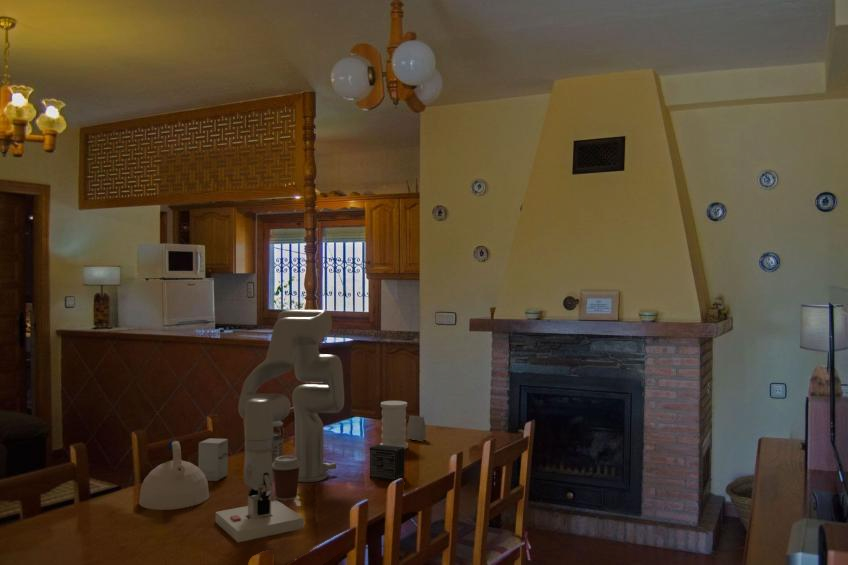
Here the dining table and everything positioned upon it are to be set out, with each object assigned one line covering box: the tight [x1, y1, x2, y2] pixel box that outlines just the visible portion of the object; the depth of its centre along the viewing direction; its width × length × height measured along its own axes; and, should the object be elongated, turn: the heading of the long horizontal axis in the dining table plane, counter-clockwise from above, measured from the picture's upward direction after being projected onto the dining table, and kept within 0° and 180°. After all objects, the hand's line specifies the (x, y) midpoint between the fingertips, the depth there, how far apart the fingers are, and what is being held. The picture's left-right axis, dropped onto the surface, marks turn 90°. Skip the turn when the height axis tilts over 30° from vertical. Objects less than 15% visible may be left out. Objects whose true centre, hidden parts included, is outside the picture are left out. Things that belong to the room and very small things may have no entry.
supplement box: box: [197, 437, 229, 482], centre depth 231 cm, size 7×7×13 cm
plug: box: [247, 495, 272, 519], centre depth 185 cm, size 5×5×8 cm
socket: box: [215, 500, 305, 543], centre depth 185 cm, size 18×18×3 cm
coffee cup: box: [272, 455, 301, 502], centre depth 210 cm, size 9×9×12 cm
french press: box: [271, 420, 285, 463], centre depth 255 cm, size 10×12×25 cm
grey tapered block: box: [406, 415, 427, 442], centre depth 289 cm, size 4×7×10 cm, turn 62°
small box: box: [369, 444, 405, 482], centre depth 232 cm, size 11×6×10 cm, turn 65°
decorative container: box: [379, 400, 409, 450], centre depth 276 cm, size 12×12×18 cm
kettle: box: [138, 439, 210, 511], centre depth 208 cm, size 20×21×18 cm
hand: (258, 510), depth 185 cm, fingers open, 6 cm apart
